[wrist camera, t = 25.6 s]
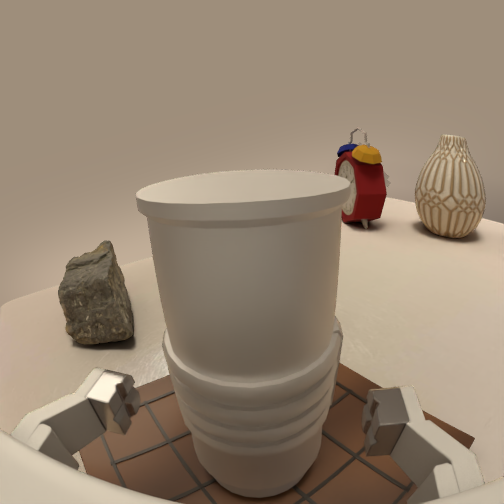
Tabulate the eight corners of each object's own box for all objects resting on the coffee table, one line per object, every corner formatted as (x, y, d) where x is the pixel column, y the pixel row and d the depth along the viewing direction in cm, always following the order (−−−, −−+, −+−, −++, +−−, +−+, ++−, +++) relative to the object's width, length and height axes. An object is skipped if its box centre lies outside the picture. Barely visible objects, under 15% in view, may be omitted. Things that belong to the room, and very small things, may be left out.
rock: (43, 269, 34) (102, 232, 39) (67, 309, 37) (123, 273, 42) (51, 324, 21) (144, 263, 26) (93, 377, 24) (174, 321, 29)
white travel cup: (327, 498, 12) (394, 199, 6) (194, 503, 12) (93, 214, 7) (310, 410, 18) (325, 167, 13) (205, 414, 18) (165, 175, 13)
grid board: (468, 447, 13) (476, 436, 13) (215, 660, 3) (211, 664, 2) (279, 335, 29) (279, 323, 28) (73, 421, 18) (67, 410, 17)
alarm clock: (332, 214, 70) (331, 127, 63) (365, 212, 71) (366, 129, 64) (355, 233, 56) (358, 125, 49) (394, 231, 57) (399, 129, 50)
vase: (457, 250, 46) (467, 135, 39) (397, 226, 60) (401, 130, 53) (491, 237, 51) (500, 144, 44) (438, 218, 65) (442, 136, 58)
